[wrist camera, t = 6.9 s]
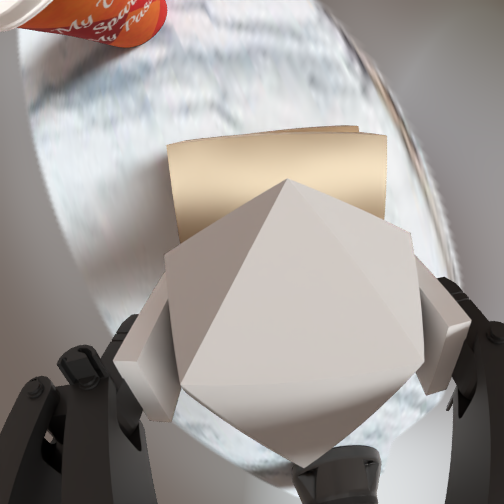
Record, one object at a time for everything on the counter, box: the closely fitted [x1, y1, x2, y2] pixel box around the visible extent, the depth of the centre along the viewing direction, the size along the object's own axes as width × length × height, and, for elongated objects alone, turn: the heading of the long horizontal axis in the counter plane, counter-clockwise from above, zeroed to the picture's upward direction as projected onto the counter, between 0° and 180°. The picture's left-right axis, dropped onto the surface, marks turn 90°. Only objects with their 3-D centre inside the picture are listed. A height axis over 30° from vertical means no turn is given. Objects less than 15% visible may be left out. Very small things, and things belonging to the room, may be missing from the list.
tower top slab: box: [167, 132, 387, 244], centre depth 18 cm, size 11×11×4 cm
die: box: [164, 178, 424, 468], centre depth 9 cm, size 8×9×10 cm
